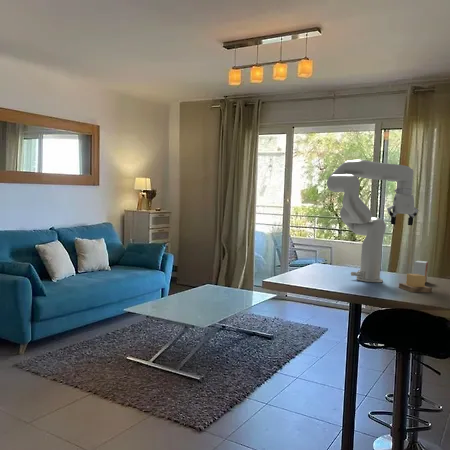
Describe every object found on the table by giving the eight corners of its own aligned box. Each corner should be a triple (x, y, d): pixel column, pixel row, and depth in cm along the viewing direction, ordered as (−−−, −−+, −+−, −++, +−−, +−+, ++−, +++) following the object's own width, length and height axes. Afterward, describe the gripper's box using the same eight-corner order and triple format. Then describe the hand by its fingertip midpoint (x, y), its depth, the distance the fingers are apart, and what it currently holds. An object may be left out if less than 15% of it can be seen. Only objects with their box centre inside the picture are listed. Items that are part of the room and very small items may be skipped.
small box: (424, 283, 226) (426, 262, 226) (412, 282, 229) (414, 261, 228) (426, 281, 233) (428, 261, 232) (415, 280, 236) (416, 260, 235)
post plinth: (411, 292, 202) (412, 280, 202) (399, 287, 212) (399, 276, 211) (431, 292, 204) (432, 281, 203) (418, 287, 213) (419, 277, 213)
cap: (413, 286, 204) (414, 275, 204) (406, 284, 210) (407, 273, 209) (424, 286, 205) (425, 276, 205) (417, 284, 211) (418, 273, 210)
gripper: (392, 191, 231) (390, 224, 232) (423, 192, 234) (420, 226, 235) (385, 191, 238) (382, 223, 239) (415, 193, 241) (412, 225, 242)
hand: (401, 224), depth 237 cm, fingers open, 9 cm apart
